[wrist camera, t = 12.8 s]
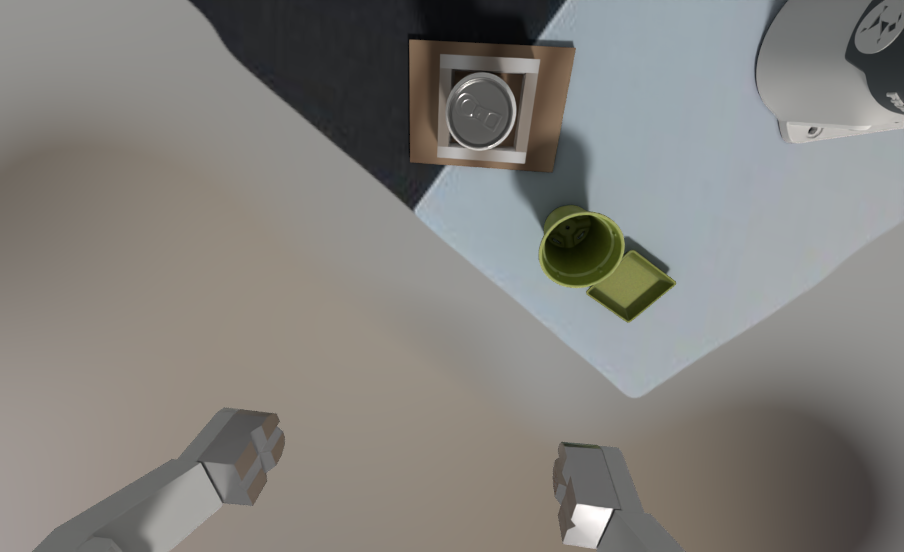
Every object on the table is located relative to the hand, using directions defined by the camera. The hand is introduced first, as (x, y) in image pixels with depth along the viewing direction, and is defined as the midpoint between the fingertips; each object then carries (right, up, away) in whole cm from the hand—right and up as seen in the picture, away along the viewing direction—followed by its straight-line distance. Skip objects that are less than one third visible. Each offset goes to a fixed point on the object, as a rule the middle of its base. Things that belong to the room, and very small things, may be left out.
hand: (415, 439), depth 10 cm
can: (+5, +24, +30) cm, 39 cm away
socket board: (+5, +25, +32) cm, 40 cm away
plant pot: (+17, +12, +37) cm, 42 cm away
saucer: (+26, +4, +40) cm, 48 cm away
